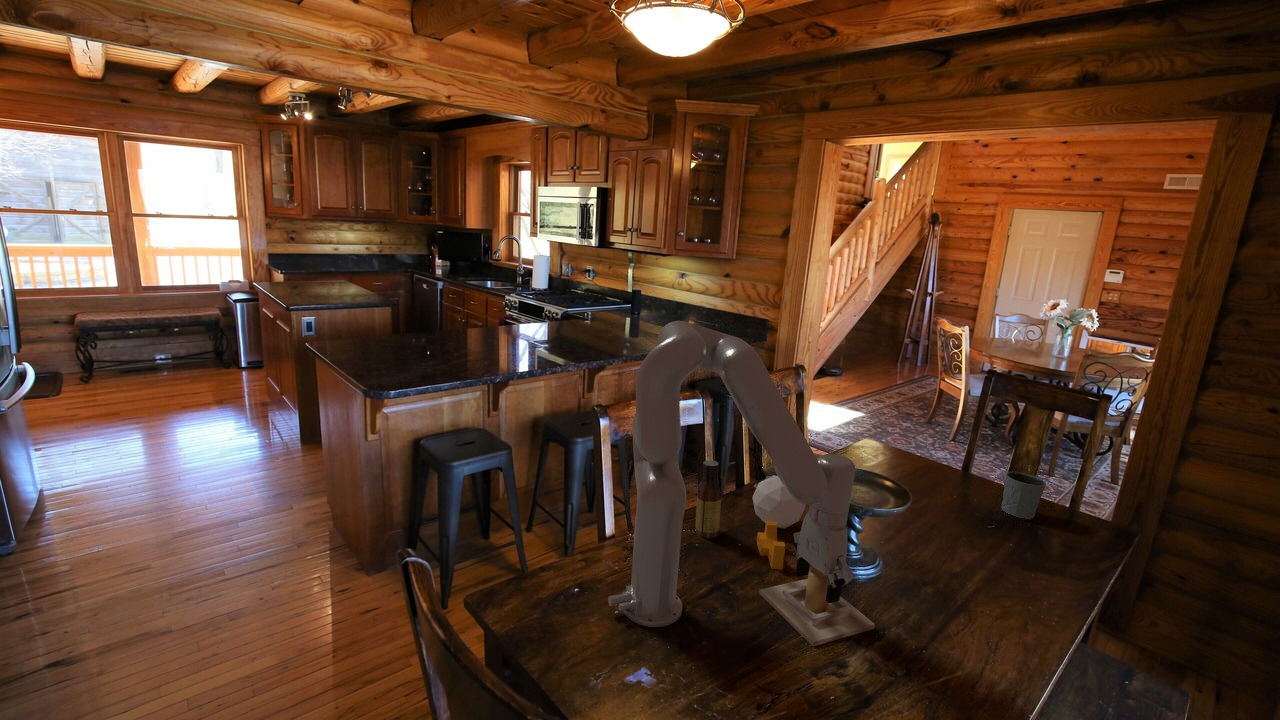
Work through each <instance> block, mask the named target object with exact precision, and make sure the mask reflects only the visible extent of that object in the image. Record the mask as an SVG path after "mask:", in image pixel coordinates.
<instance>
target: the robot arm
mask: <svg viewBox="0 0 1280 720" xmlns="http://www.w3.org/2000/svg"><path fill="white" fill-rule="evenodd" d="M697 369H702V370H706V371H709V372H713V373H717V374H718V376H719V377H720V378H721V380H722V383H723V384H724V386H725V388H726V389H727V391H728V393H729V395H730V397H731V399H732V401H733V402H734V404H735V406H736V407H737V409H738V411H739V412H740V415H741V416H742V418H743V419H744V421H745V423H746V425H747V427H748V429H749V430H750V432H751V433H752V434H753V436H754V437H755V439H756V440H757V441H758V443H759V444H760V445H761V446H762V448H763V450H765V452H766V454H767V455H768V456H769V458H770V460H771V461H772V463H773V464H774V471H775V473H776V476H778V477H779V479H780V480H781V482H782V483H783V485H784V486H785V487H786V488H787V490H788V491H789V493H790V494H791V496H792V497H793V498H794V499H795V500H796V501H798V502H800V503H803V504H805V505H809V510H808V511H806V513H805V516H804V519H803V522H802V524H801V526H800V530H799V532H793V539H794V548H795V551H796V553H795V557H796V559H797V561H796V567H795V574H794V575H795V576H796V577H797V578H799V577H804V576H808V574H809V569H810V568H811V567H810V566H812V567H815V568H816V569H817V570H818V571H820V572H821V573H822V574H824V575H828V577H829V580H830V585H828V588H827V594H826V602H827V603H833V602H837V601H839V600H840V596H841V595H842V594H841V592H842V587H843V586H844V587H845V585H848V584H850V582H851V581H852V580H853V578H854V577H855V575H854V572H853V571H852V569H851V568H850V565H849V564H848V563H847V562H846V561H847V556H848V555H847V554H848V552H847V551H848V538H849V536H848V527H847V522H848V517H849V509H850V503H851V499H852V494H853V493H852V492H853V487H854V481H855V474H856V473H855V472H856V465H855V463H854V461H853V460H852V459H850V458H848V457H846V456H844V455H841V454H836V453H825V454H820V453H814V451H813V449H812V447H811V446H810V444H809V443H808V441H807V439H806V437H805V436H804V434H803V432H802V430H801V429H800V427H799V425H798V423H797V421H796V420H795V418H794V416H793V414H792V413H791V411H790V410H789V407H788V406H787V404H786V402H785V401H784V399H783V396H782V395H781V393H780V392H779V390H778V388H777V386H776V384H775V382H774V380H773V378H772V377H771V374H770V373H769V371H768V369H767V366H766V365H765V363H764V361H763V359H762V358H761V356H760V355H759V353H758V352H757V350H756V349H755V348H754V347H753V346H752V345H750V344H749V343H747V342H746V341H745V340H744V339H742V338H740V337H737V336H734V335H731V334H728V333H724V332H720V331H717V330H714V329H711V328H707V327H705V326H701V325H698V324H695V323H692V322H689V321H685V320H675V321H671V322H668V323H667V324H665V325H664V326H663V327H661V330H660V331H659V333H658V335H657V345H656V346H655V347H654V348H653V349H652V350H650V351H649V352H648V354H647V355H646V356H645V358H643V361H642V362H641V363H640V365H639V368H638V370H637V375H636V379H635V414H634V416H633V418H632V419H633V420H632V446H633V460H634V461H633V462H634V463H633V465H634V475H635V476H634V477H635V478H634V479H635V482H636V483H635V486H636V496H637V497H636V498H637V499H636V512H635V518H634V519H635V521H634V532H633V533H634V534H633V535H634V536H633V548H632V550H633V551H632V554H633V555H632V566H631V580H630V581H631V582H630V584H628V585H626V586H625V591H622V593H620V594H615V595H614V594H613V595H609V596H608V597H607V603H608V606H609V607H613V606H618V611H619V612H623V613H624V615H625V616H626V617H627V618H628V619H629V620H630V621H632V622H634V623H636V624H637V625H640V626H644V627H650V628H661V627H666V626H670V625H671V624H674V623H675V622H677V621H678V620H679V619H680V618H681V616H682V613H683V602H682V601H681V598H680V597H679V596H678V595H677V589H678V588H677V587H678V576H679V566H680V565H679V563H680V554H681V553H680V552H681V543H682V542H681V540H682V530H683V520H684V516H685V513H686V512H685V511H686V506H687V490H686V485H685V481H684V478H683V475H682V472H681V470H680V465H679V452H680V450H681V446H682V442H683V434H682V428H681V427H682V426H681V425H682V424H681V409H680V408H681V407H680V405H681V404H680V402H681V401H680V400H681V398H680V397H681V386H682V384H683V382H684V380H685V379H686V378H687V377H688V376H689V375H690V374H692V373H693V372H695V371H696V370H697ZM834 574H836V577H837V579H836V577H835V575H834Z"/></svg>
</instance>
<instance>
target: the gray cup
mask: <svg viewBox="0 0 1280 720" xmlns="http://www.w3.org/2000/svg"><path fill="white" fill-rule="evenodd" d="M1046 485H1047V482H1046V481H1044V480H1043V479H1042V478H1040V477H1038V476H1036V475H1032V474H1029V473H1025V472H1021V471H1020V472H1019V471H1007V472H1006V473H1005V480H1004V487H1003V488H1004V489H1003V494H1002V501H1001V507H1000V509H1001V508H1002V510H1003V511H1005V512H1006V513H1008V514H1011V515H1013V516H1016V517H1019V518H1025V519H1031V518H1035V515H1036V513H1037V512H1036V511H1037V510H1038V509H1037V508H1038V507H1039V503H1040V501H1041V498H1042V496H1043V493H1044V491H1045V488H1046Z"/></svg>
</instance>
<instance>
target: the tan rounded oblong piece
mask: <svg viewBox="0 0 1280 720" xmlns="http://www.w3.org/2000/svg"><path fill="white" fill-rule="evenodd" d="M807 576H808V577H807V579H808V582H807V589H806V596H805V603H804V605H805V607H806V608H807V609H808V610H810V611H812V612H815V613H823V612H825V611H826V606H827V602H826V594H827V588H828V585H830V580H829V577H828V575H824V574H822V573H821V572H820V571H818V570H817V569H816V568H815V567H813V566H812V567H810V568H809V574H808V575H807Z"/></svg>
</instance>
